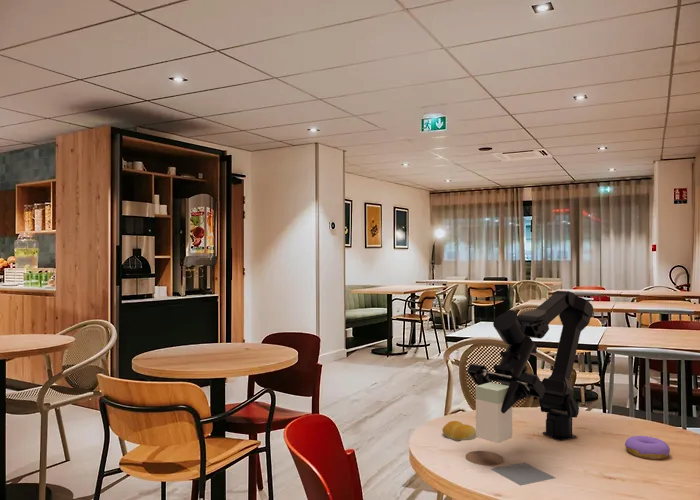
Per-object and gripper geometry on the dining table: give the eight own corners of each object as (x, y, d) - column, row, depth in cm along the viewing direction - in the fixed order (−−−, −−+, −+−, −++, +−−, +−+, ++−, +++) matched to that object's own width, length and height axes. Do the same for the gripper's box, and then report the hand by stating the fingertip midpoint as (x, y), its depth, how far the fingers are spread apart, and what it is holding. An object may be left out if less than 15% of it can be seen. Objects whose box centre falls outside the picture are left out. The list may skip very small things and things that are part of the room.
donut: (669, 449, 141) (669, 432, 140) (670, 469, 133) (670, 451, 132) (625, 443, 146) (625, 426, 145) (624, 462, 138) (624, 444, 137)
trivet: (487, 451, 140) (487, 448, 140) (511, 463, 132) (511, 460, 132) (458, 456, 136) (458, 454, 136) (481, 469, 128) (481, 466, 128)
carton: (490, 431, 135) (490, 382, 135) (512, 437, 131) (512, 386, 131) (475, 436, 131) (475, 386, 131) (497, 443, 127) (497, 390, 127)
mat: (524, 464, 132) (524, 462, 132) (556, 479, 122) (556, 477, 122) (490, 470, 127) (490, 468, 127) (520, 487, 118) (520, 485, 118)
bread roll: (464, 444, 146) (464, 429, 146) (437, 436, 153) (437, 421, 153) (483, 437, 151) (483, 423, 151) (456, 430, 158) (456, 415, 158)
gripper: (563, 382, 134) (539, 438, 127) (496, 369, 148) (472, 419, 141) (546, 353, 129) (521, 410, 122) (479, 343, 143) (452, 394, 136)
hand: (490, 409), depth 130 cm, fingers closed on carton, 6 cm apart
